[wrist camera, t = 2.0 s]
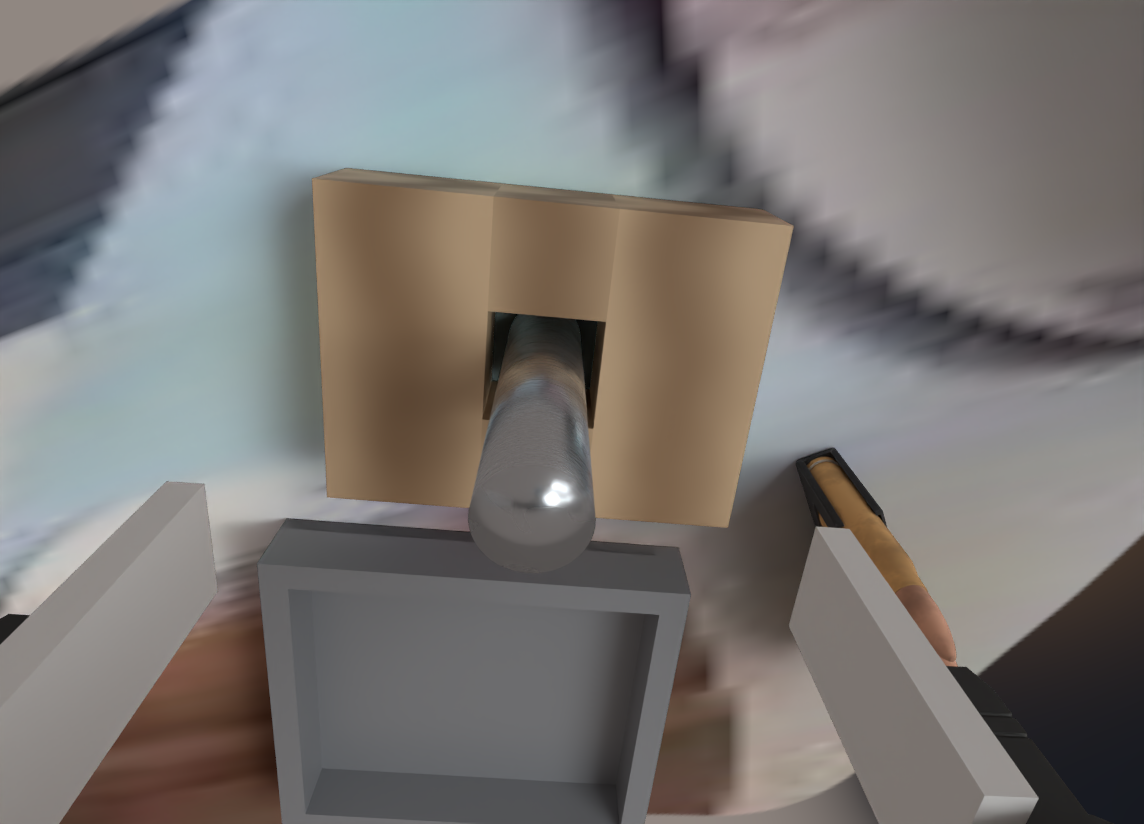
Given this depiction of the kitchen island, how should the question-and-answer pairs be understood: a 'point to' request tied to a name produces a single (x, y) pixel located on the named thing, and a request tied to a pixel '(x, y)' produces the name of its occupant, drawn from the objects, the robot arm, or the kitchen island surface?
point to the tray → (465, 677)
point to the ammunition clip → (872, 540)
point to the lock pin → (536, 452)
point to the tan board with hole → (543, 288)
